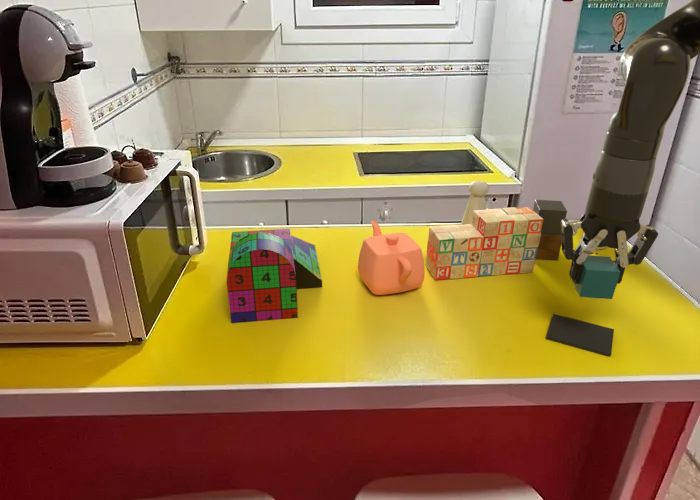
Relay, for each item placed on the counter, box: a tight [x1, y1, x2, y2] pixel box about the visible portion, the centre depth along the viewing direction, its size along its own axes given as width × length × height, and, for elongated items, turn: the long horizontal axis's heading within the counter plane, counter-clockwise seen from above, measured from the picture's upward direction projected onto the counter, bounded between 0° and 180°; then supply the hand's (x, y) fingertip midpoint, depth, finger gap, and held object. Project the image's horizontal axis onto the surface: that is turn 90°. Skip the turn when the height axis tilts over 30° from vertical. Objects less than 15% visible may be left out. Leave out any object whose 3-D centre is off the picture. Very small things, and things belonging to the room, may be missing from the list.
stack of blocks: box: [425, 206, 543, 281], centre depth 105 cm, size 21×6×12 cm, turn 100°
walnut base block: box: [535, 234, 562, 261], centre depth 113 cm, size 6×6×6 cm
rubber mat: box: [545, 313, 615, 358], centre depth 88 cm, size 10×8×1 cm
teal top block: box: [571, 254, 620, 300], centre depth 83 cm, size 5×5×5 cm
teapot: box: [357, 219, 426, 296], centre depth 101 cm, size 11×18×10 cm, turn 19°
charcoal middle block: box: [532, 199, 568, 235], centre depth 111 cm, size 6×6×6 cm
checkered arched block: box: [226, 228, 323, 324], centre depth 99 cm, size 25×17×14 cm
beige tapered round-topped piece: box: [460, 180, 489, 225], centre depth 120 cm, size 6×6×13 cm
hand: (593, 282), depth 83 cm, fingers closed on teal top block, 5 cm apart
